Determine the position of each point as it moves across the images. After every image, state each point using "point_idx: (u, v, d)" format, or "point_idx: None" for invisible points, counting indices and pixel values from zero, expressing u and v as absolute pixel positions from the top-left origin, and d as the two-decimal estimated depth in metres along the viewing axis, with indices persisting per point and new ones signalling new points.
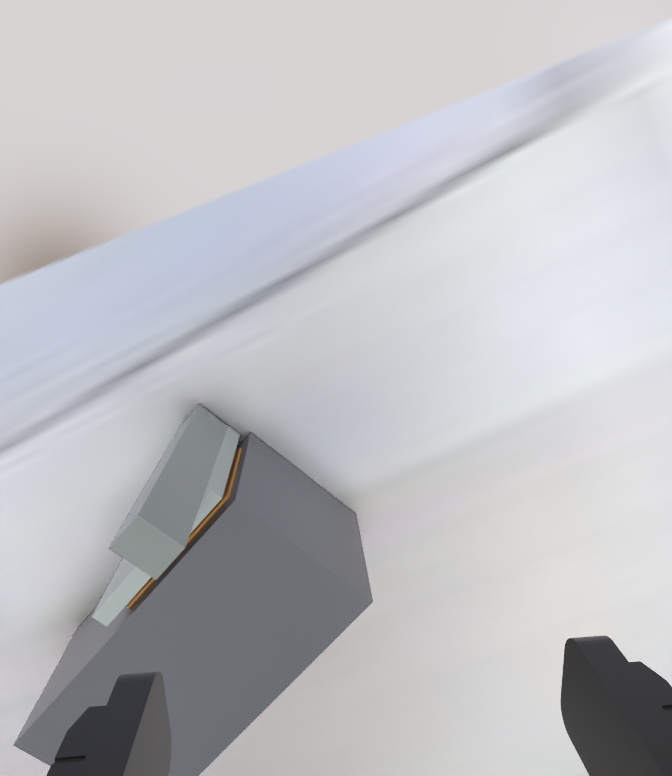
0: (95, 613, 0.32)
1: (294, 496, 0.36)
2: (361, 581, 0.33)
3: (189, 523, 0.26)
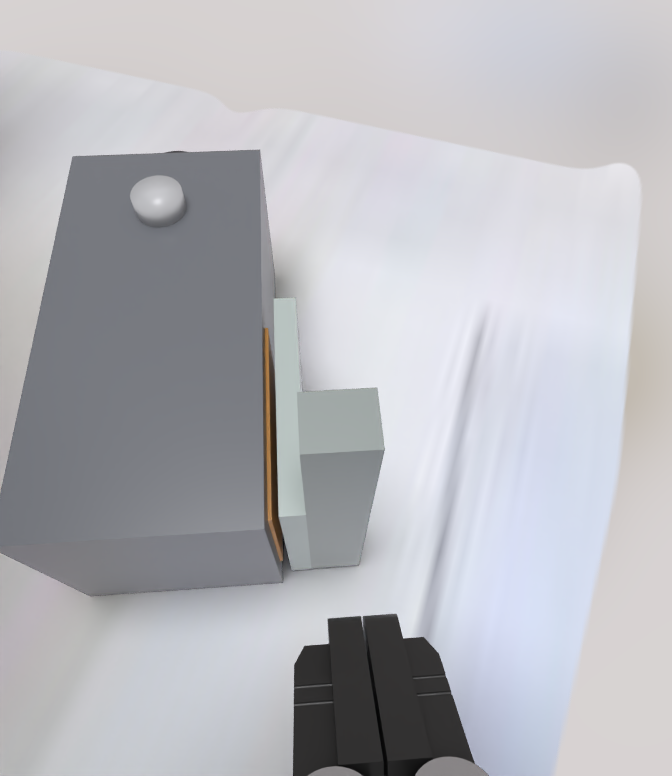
0: (294, 302, 0.26)
1: (185, 569, 0.25)
2: (24, 554, 0.22)
3: (308, 477, 0.18)
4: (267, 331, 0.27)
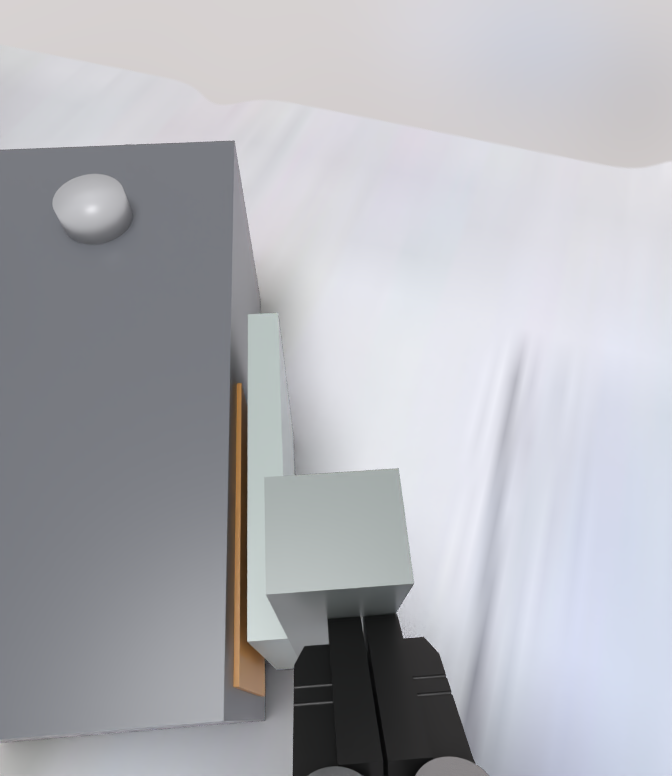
0: (276, 320, 0.19)
1: (121, 731, 0.18)
2: None
3: (285, 611, 0.11)
4: (240, 388, 0.19)
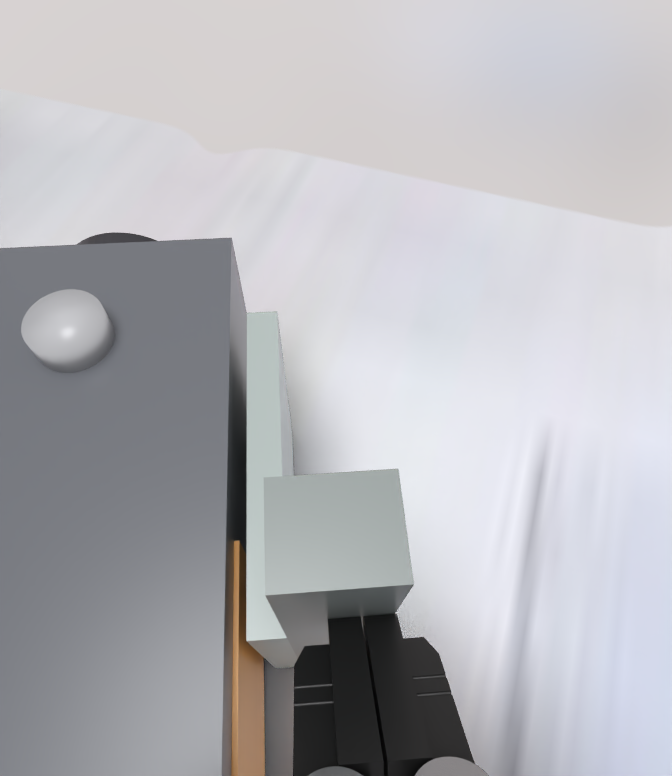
0: (276, 318, 0.19)
1: None
2: None
3: (284, 612, 0.11)
4: (238, 546, 0.17)
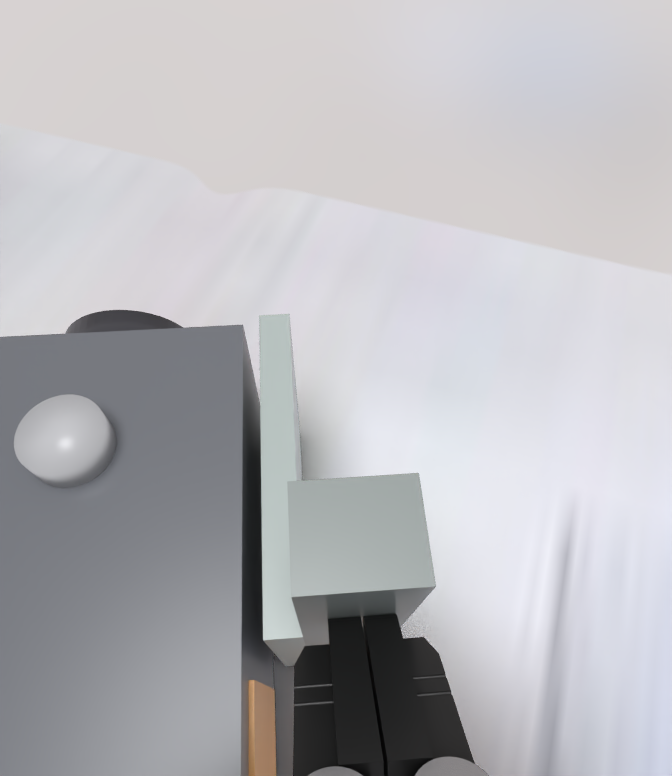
0: (288, 321, 0.19)
1: None
2: None
3: (306, 612, 0.11)
4: (253, 686, 0.15)
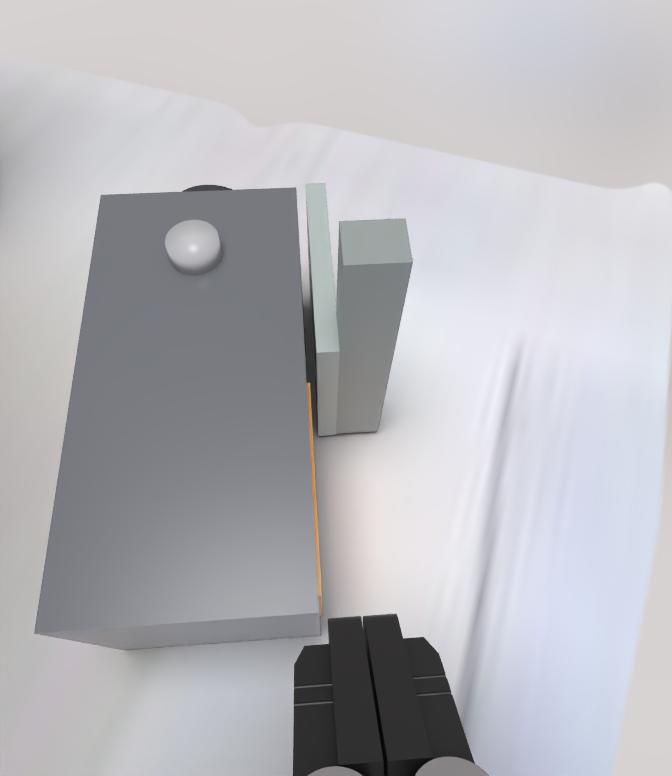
0: (324, 187, 0.30)
1: (227, 634, 0.25)
2: (69, 634, 0.21)
3: (347, 296, 0.22)
4: (309, 386, 0.26)
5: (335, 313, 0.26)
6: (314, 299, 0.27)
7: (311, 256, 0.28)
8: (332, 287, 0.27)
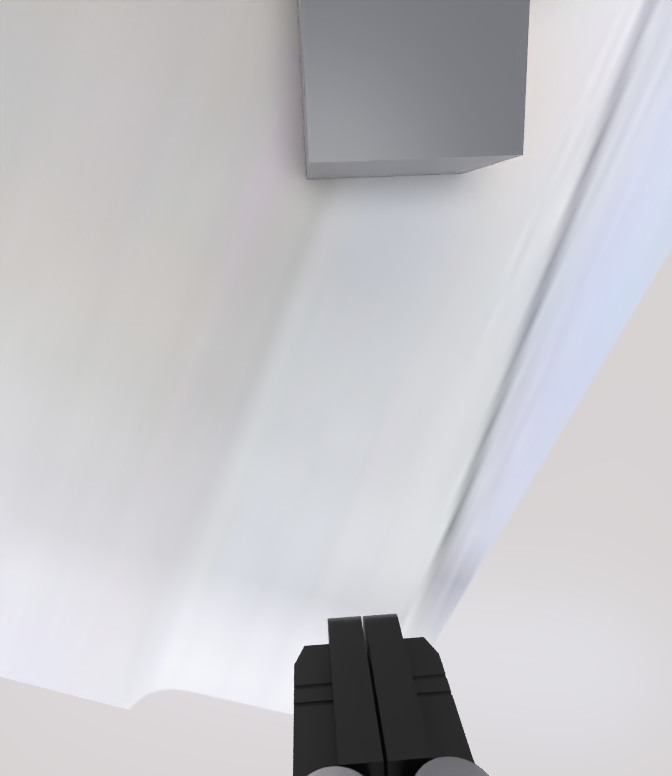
0: None
1: (413, 169, 0.31)
2: (323, 164, 0.27)
3: None
4: None
5: None
6: None
7: None
8: None
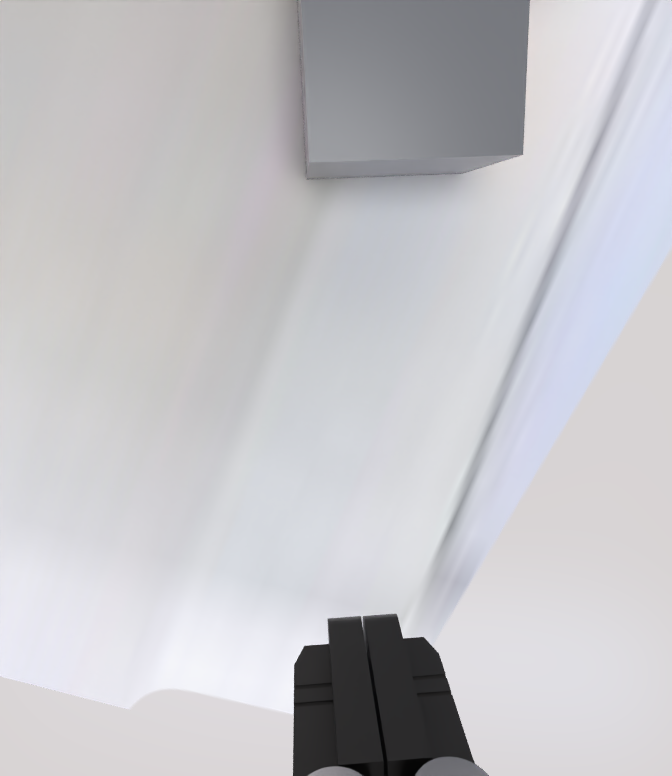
0: None
1: (413, 169, 0.31)
2: (323, 164, 0.27)
3: None
4: None
5: None
6: None
7: None
8: None
